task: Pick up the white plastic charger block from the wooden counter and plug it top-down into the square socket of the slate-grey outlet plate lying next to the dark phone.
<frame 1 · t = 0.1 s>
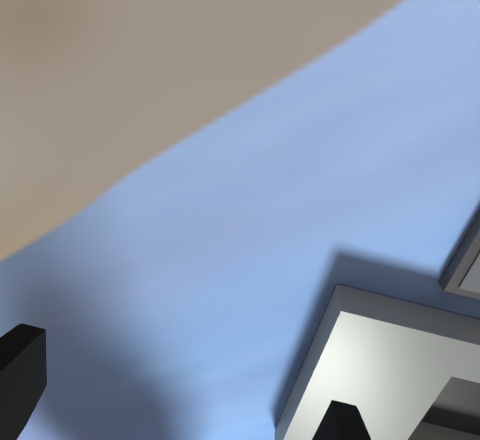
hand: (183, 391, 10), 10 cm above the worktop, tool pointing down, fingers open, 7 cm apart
outlet plate: (439, 400, 23), on the worktop
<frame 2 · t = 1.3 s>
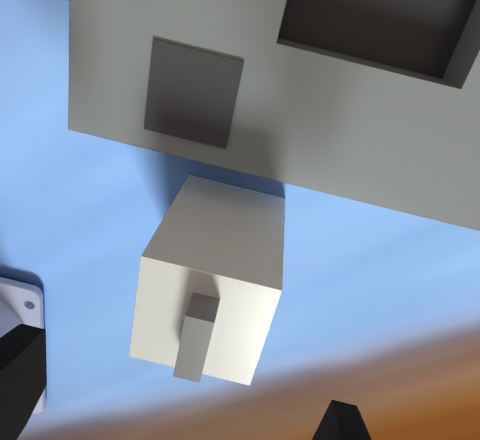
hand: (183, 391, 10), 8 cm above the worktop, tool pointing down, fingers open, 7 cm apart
charger: (227, 228, 18), on the worktop
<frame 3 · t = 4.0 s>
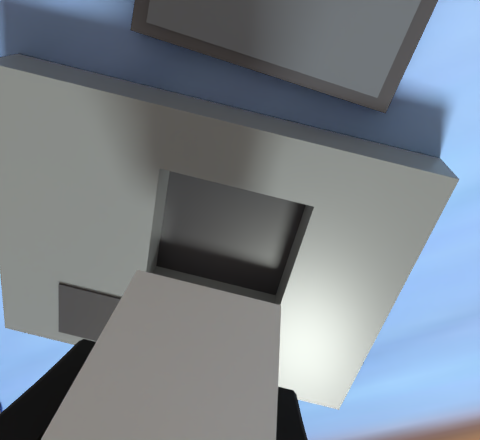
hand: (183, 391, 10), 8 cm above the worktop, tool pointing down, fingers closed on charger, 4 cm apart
charger: (197, 339, 12), point 6 cm above the worktop, touching gripper
outlet plate: (202, 240, 18), on the worktop
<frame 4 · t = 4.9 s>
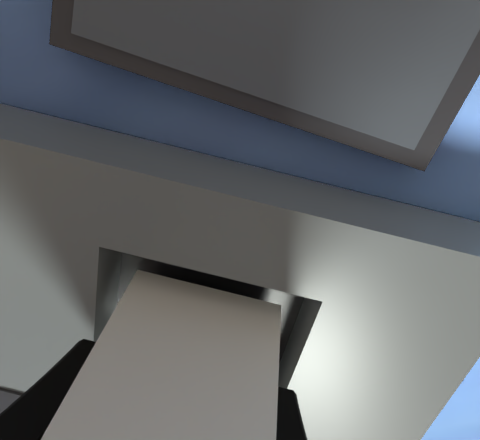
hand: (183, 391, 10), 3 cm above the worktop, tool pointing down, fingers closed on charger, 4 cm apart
charger: (197, 339, 12), point 1 cm above the worktop, touching gripper
outlet plate: (171, 321, 14), on the worktop
when the fingers open (3 cm above the worktop, at t = 5.4 s): charger stays where it is, resting on outlet plate.
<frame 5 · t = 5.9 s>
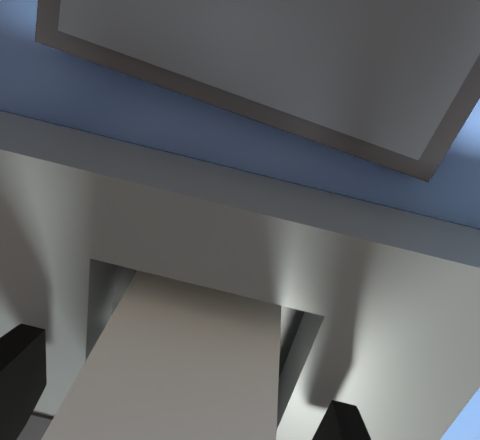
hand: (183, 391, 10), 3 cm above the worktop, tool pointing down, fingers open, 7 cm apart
charger: (201, 327, 13), resting on outlet plate
outlet plate: (167, 333, 13), on the worktop
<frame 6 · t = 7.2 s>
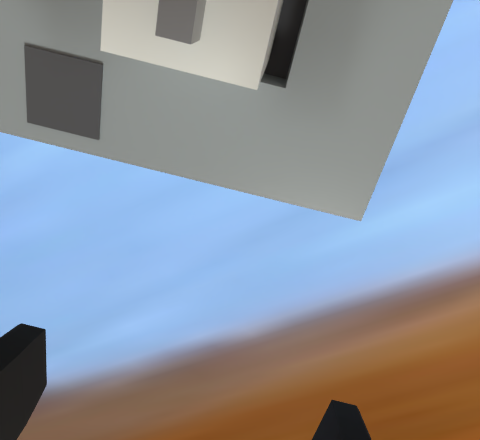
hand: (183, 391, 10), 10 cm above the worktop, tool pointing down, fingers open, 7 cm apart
outlet plate: (198, 2, 15), on the worktop
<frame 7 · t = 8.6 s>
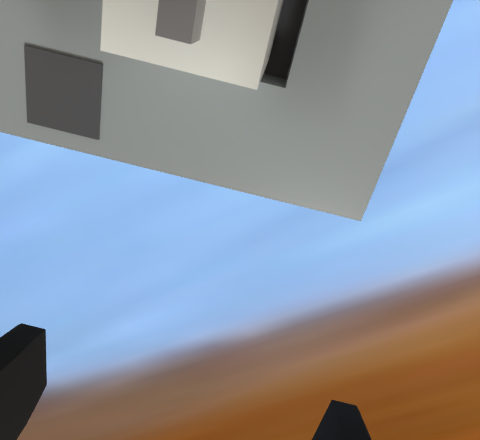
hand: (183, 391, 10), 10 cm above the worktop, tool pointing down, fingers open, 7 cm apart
outlet plate: (198, 2, 15), on the worktop
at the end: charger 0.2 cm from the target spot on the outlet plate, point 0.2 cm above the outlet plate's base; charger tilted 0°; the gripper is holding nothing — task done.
